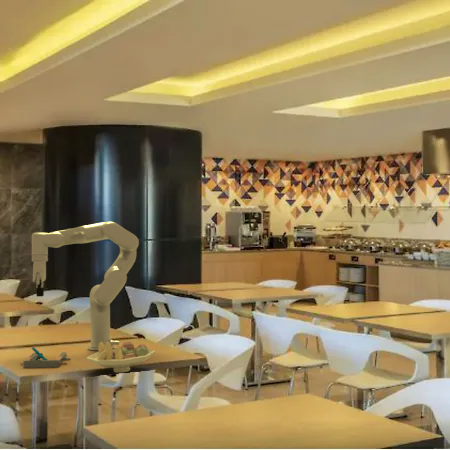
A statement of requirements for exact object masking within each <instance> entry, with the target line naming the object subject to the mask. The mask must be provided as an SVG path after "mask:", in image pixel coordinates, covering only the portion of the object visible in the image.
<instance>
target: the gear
mask: <svg viewBox="0 0 450 450" xmlns="http://www.w3.org/2000/svg"><path fill="white" fill-rule="evenodd" d="M31 350H32V351H33V353H36V354H37V355H38V356H37V357H36V359H35V360H41V359H42V360H48V359H47V357H45V356H44V354H43V352H40V351H39V350H38V349H36V348H35V347H34V346H33V347H31Z"/></svg>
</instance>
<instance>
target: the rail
mask: <svg viewBox="0 0 450 450" xmlns="http://www.w3.org/2000/svg"><path fill="white" fill-rule="evenodd" d="M37 356H38V355H37V354H36V353H35V352H33V353H31V355H29V356H28V357H25V359H24V360H23V362H20V366H23V369H36V368H37V369H38V368H39V369H42V368H45V369H46V368H60V366H61V365H68V362H67V361H70V360H71V357H67V351H63V352H61V353H60V354H59V355H57V357H56V358H55V359H47V360H43V359H42V360H41V359H38V360H35V359H36V357H37ZM65 361H66V362H65Z"/></svg>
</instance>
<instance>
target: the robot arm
mask: <svg viewBox="0 0 450 450" xmlns="http://www.w3.org/2000/svg"><path fill="white" fill-rule="evenodd" d="M103 240H110V241H111V242H113V243H114V244H116V245H117V246H118V247H119V254H118V256H117V258H116V259H115V261H114V262H113V263H112V265H111V266H109V268H108V270H107V271H106V272H105V273H104V277H103V281H102V282H101V283H100V284H96V285H93V287H92V288H91V289H90V292H89V307H90V308H89V309H90V345H88V346H87V350H88V351H89V350H90V351H99V349H98V347H99V343H100V342H103V344H104V346H105V345H106V343H107V342H109V343H110V344H111V346H112V349H114V346H120V341H119V340H113V339H112V338H111V306H110V305H111V303H112V302H113V301H114V300H115V298H116V297H117V296H118V295H119V293H120V292H121V291H122V290H123V287H124V286H125V284H126V283H127V279H128V276H127V274H128V273H129V271H130V270H131V269H132V268H133V266H134V265H135V264H134V263H135V262H136V259H137V249H138V247H139V245H140V242H139V241H140V240H139V238H138V237H137V235H135V234H134V233H132V232H131V231H129V230H127V229H125V228H124V227H123V226H121V225H120V224H119V223H117V222H115V221H114V222H113V221H104V222H97V223H92V224H88V225H87V224H86V225H81V226H77V227H73V228H67V229H63V230H57V231H51V232H49V233H48V232H34V233H32V234H31V262H32V263H33V264H32V282H33V283H36V289H35V291H36V293H35V294H36V295H35V296H36V297H44V296H45V295H44V294H45V292H44V291H45V290H44V281H46V279H47V264H46V263H47V262H48V261H49V257H48V256H49V253H48V252H49V248H55V249H56V248H60V247H62V246H66V245H67V246H68V245H73V244H89V243H93V242H98V241H103Z"/></svg>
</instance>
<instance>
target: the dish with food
mask: <svg viewBox="0 0 450 450" xmlns="http://www.w3.org/2000/svg"><path fill="white" fill-rule="evenodd" d="M116 346H117V347H116V348H113V349H112V346H111V344H110V343H109V342H107V343H106V345H105V346H104V344H103V342H100V343H99V347H98V349H99V350H98V351H96V352H95V353H92V354H90V355H88V356H87V357H86V359H87V361H88V362H89V363H92V364H94V365H96V366H97V365H98V366H99V367H103V368H108V369H109V368H111V369H112V368H113V373H126V372H129V371H131V367H133V366H137V365H139V364H142V363H143V362H145V361H147V360H148V359H150V358H152V357H153V356H154V353H156V351H155V350H154V349H149V348H148V346H147V345H146V344H144V343H143V344H142V343H140V344H139V345H138V346H137V345H136V347H135V345H134V343H132V342H131V341H125V342H124V343H122V344H121V346H120V345H116Z"/></svg>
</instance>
